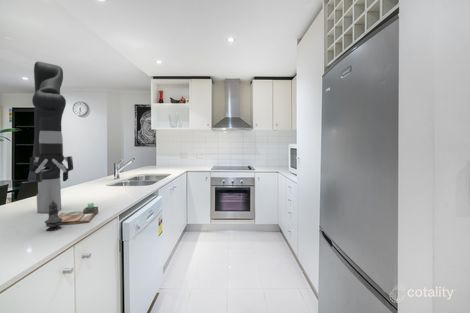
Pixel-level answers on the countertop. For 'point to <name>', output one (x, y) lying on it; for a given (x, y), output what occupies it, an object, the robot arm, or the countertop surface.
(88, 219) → the picture board
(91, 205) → the button
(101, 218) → the countertop surface
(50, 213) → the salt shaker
